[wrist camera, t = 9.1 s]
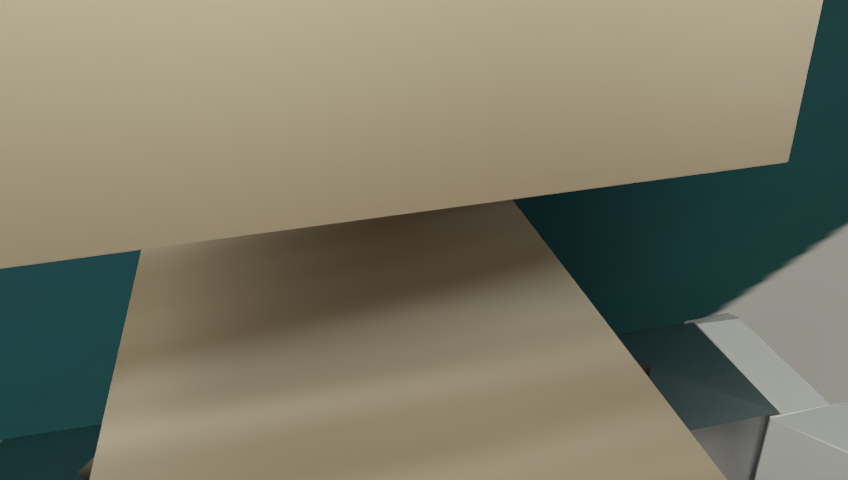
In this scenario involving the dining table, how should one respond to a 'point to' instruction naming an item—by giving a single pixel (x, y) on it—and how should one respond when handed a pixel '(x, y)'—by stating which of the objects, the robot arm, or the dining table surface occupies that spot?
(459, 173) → the tile
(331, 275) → the tile
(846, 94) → the dining table surface
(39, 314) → the dining table surface
